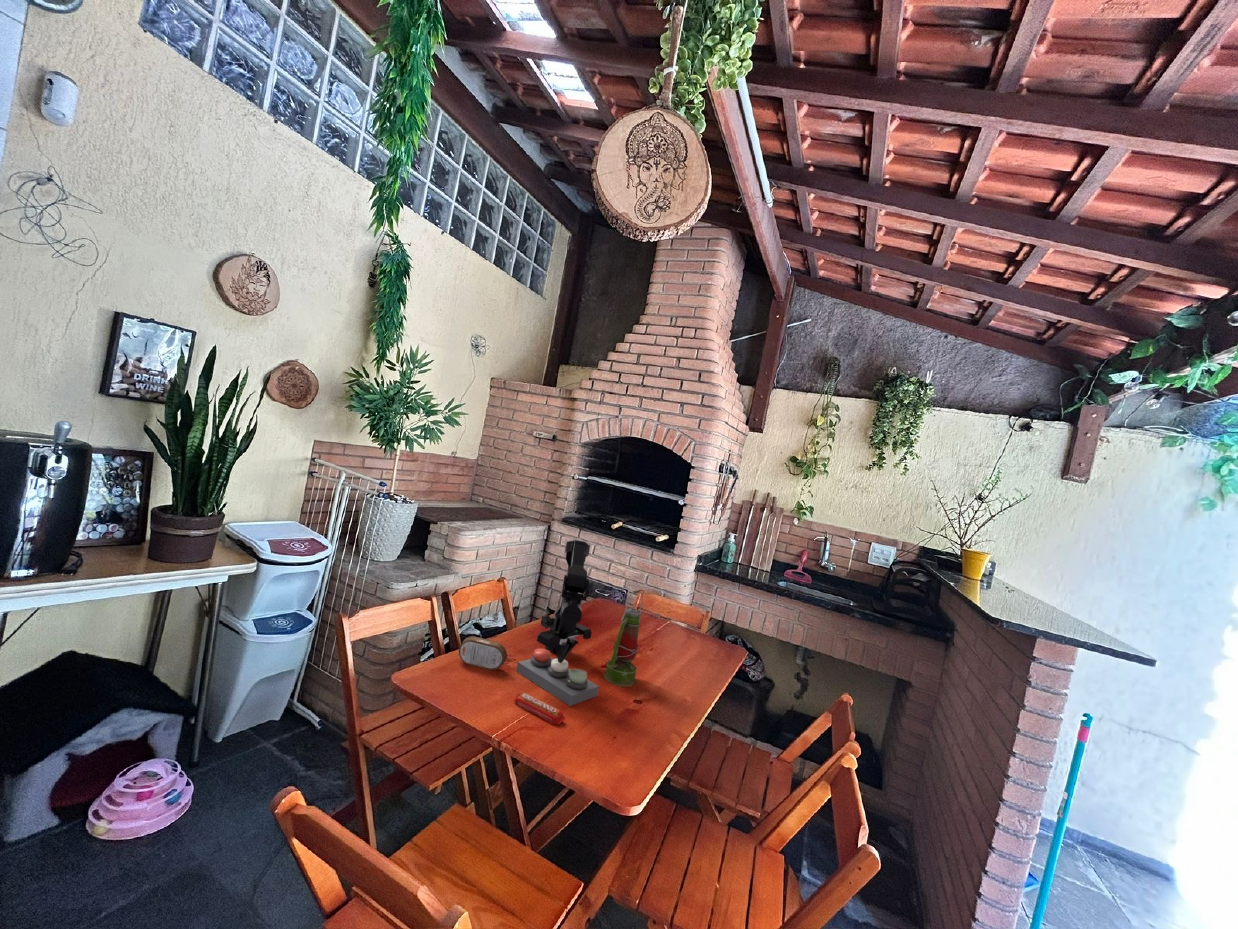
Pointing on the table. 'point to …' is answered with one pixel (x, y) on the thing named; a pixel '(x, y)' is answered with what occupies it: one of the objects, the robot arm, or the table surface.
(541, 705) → the candy bar
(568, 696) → the button panel
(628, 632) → the lantern
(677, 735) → the table surface
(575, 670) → the green button
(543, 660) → the red button
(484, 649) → the tin
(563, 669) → the white button
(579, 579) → the robot arm
